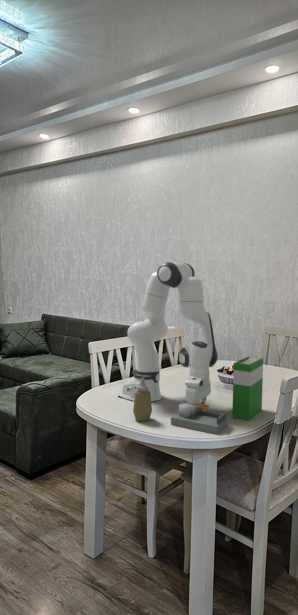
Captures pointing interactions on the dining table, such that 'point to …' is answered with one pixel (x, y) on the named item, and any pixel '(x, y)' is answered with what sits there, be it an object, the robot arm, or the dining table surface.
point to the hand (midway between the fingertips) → (198, 409)
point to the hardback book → (247, 388)
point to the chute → (203, 407)
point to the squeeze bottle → (142, 402)
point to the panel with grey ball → (199, 419)
